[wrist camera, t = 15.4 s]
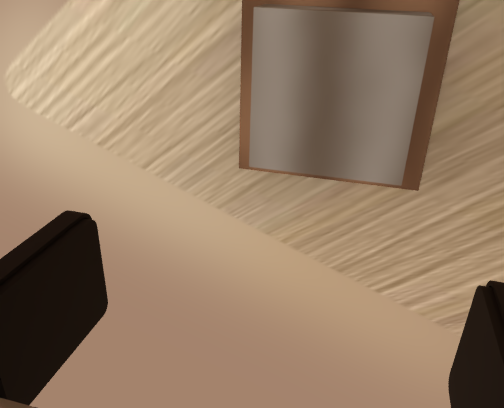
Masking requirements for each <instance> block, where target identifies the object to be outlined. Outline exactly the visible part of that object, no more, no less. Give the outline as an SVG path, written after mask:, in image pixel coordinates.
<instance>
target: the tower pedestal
mask: <svg viewBox="0 0 504 408" xmlns="http://www.w3.org/2000/svg"><path fill="white" fill-rule="evenodd" d="M458 4H459V0H242V42H241V96H240V151H239V168H243V169H251V170H258V171H266V172H274V173H282V174H290V175H298V176H306V177H314V178H322V179H330V180H338V181H346V182H354V183H362V184H370V185H378V186H386V187H393V188H401V189H409V190H417V191H418V190H419V185H420V180H421V176H422V171H423V166H424V162H425V157H426V153H427V148H428V143H429V139H430V134H431V129H432V125H433V120H434V115H435V111H436V106H437V102H438V97H439V92H440V88H441V83H442V78H443V74H444V69H445V64H446V60H447V55H448V50H449V46H450V41H451V37H452V32H453V27H454V23H455V18H456V13H457V9H458Z"/></svg>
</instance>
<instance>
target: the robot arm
mask: <svg viewBox="0 0 504 408" xmlns="http://www.w3.org/2000/svg"><path fill="white" fill-rule="evenodd" d="M107 305H108V299H107V292H106V285H105V278H104V271H103V264H102V258H101V250H100V244H99V236H98V229H97V224H96V222H95V221H94V220H92V218H91V216H90V215H89V214H87V213H80V212H75V211H65V212H63V213H61V214H60V215H59V216H57V217H56V218H55V219H54V220H52V221H51V222H50V223H48V224H47V225H45V226H44V227H43V228H41V229H40V230H39V231H37V232H36V233H35V234H33V235H32V236H31V237H29V238H28V239H27V240H25V241H24V242H23V243H21V244H20V245H19V246H17V247H16V248H14V249H13V250H12V251H10V252H9V253H8V254H6V255H5V256H4V257H2V258H1V259H0V408H36V407H32V406H29V405H30V403H31V402H32V401H33V400H34V399H35V398H36V396H37V395H38V394H39V393H40V391H41V390H42V389H43V388H44V387H45V386H46V384H47V383H48V382H49V381H50V379H51V378H52V377H53V376H54V375H55V373H56V372H57V371H58V370H59V369H60V367H61V366H62V365H63V364H64V363H65V361H66V360H67V359H68V358H69V357H70V355H71V354H72V353H73V352H74V350H75V349H76V348H77V347H78V346H79V344H80V343H81V342H82V341H83V340H84V338H85V337H86V336H87V335H88V334H89V332H90V331H91V330H92V329H93V327H94V326H95V325H96V324H97V322H98V321H99V320H100V319H101V318H102V317H103V315H104V314H105V312H106V309H107ZM449 396H450V403H451V408H504V283H502V282H496V281H489V282H488V283H487V285H486V286H480V285H479V286H478V287H477V289H476V292H475V295H474V298H473V301H472V304H471V308H470V311H469V314H468V317H467V320H466V324H465V327H464V330H463V333H462V336H461V340H460V343H459V346H458V350H457V353H456V355H455V359H454V362H453V366H452V368H451V372H450V376H449Z"/></svg>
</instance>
